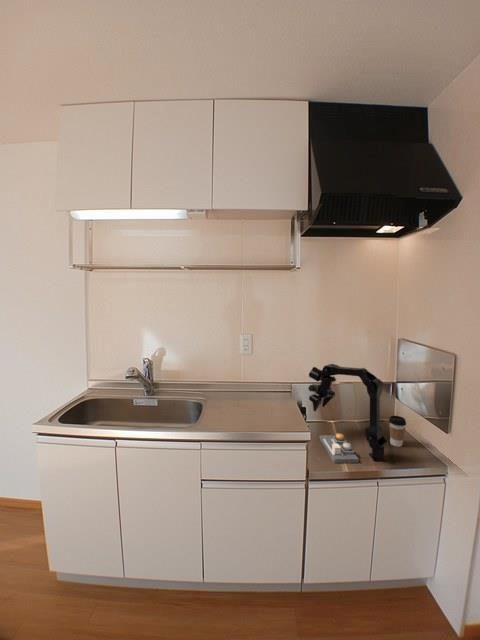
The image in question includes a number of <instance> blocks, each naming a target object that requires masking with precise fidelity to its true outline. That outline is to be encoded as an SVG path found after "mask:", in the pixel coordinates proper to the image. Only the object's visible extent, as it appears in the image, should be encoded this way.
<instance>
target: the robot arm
mask: <svg viewBox="0 0 480 640" xmlns="http://www.w3.org/2000/svg"><path fill="white" fill-rule="evenodd" d="M339 375H341V376H352V377H359V378H360V380H361V382H362V383H363V385H364V386H365V387H366V391H367V395H368V397H369V425H367V426H366V427H365V428H364V429H365V435H364V437H365V439H366V440H367V442H368V445H369V447H370V448H371V452H368V456H369V457H370V458H371V459H372V460H373V462H387V461H388V459H387V458H386V457H385V446H387V444H388V439H386V437H385V436H384V434H383V428H382V427H381V425H380V419H381V418H380V416H381V415H380V409H381V407H380V406H381V405H380V404H381V401H380V400H381V399H380V398H381V394H382V392H383V388H384V383H383V381H382V380H381V379H380V378H377V377H376V375H374V374H373V373H371V372H369V370H368V369H366V368H365V367H361V368H360V367H349V366H340V365H338V364H335V363H329V364H327V365H324V366H323V368H322V369H319V368H317V367H316V366H313V367H312V369H311V370H310V371H309V373H308V377H309V378H311V379H313V380H314V381H316V382H320V384H314V383H313V384H310V385H309V386H308V391H309V392H313V394H311V395H309V397H308V400H309V401H310V402H312V407H313V408H312V409H313V411H314V412H316V411H317V410H318V409H319V408H320V406H321V407H322V408H325V407H326V406H327V405H328V403H330V401H332V399H334V398H335V396H336V393H335V391H333V390H332V383H333V382H337V378H336V377H335V376H339ZM321 404H322V405H321Z"/></svg>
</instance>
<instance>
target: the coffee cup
mask: <svg viewBox="0 0 480 640" xmlns="http://www.w3.org/2000/svg"><path fill="white" fill-rule="evenodd" d="M388 423H389V443H390V445H391V446H394V447H398V448H399V447H403V443H404V437H405V431H406V425H407V421H406V418H404V417H402V416H400V415H391V416H390V417H389V419H388Z"/></svg>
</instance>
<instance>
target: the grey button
mask: <svg viewBox="0 0 480 640" xmlns="http://www.w3.org/2000/svg"><path fill="white" fill-rule="evenodd" d="M351 447H352V443H350V442H348V441H347V442H345V443H343V449H345V450H351Z"/></svg>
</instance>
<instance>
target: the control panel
mask: <svg viewBox="0 0 480 640" xmlns="http://www.w3.org/2000/svg"><path fill="white" fill-rule="evenodd" d="M319 440H320V442H321V444H322V445H323V447H324V448H325V450H326V452H327V453H328V455H329V457H330V458H331V460H332V462H333V463H334V464H354V463H355V464H357V463H358V464H359V463H360V462H359V457H358V456H357V455H356V451H355V450H354V448H353V446H351V450H345V449H343V443H345V442H347V443H348V441H347V440H346V438H345V437H344V440H337V439H336V434H333V435H331V434H330V435H324V434H323V435H319ZM332 444H339V446H340V447H341V454H334V452H333V451H332Z"/></svg>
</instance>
